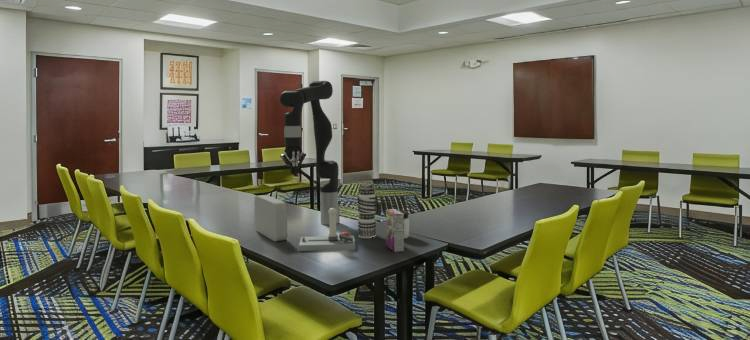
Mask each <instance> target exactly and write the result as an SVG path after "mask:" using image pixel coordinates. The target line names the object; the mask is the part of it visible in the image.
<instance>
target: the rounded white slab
mask: <svg viewBox="0 0 750 340" xmlns="http://www.w3.org/2000/svg"><path fill="white" fill-rule="evenodd" d="M254 222H255V229H256V231H257V232H258V233H259V234H261V235H263V236H264V237H267V238H269V240H271V241H273V242H275V243H276V242H282V241H287V239H288V207H287V203H286V202H285V201H283V200H280V199H278V198H275V197H273V196H270V195H268V194H261V195H255V196H254Z"/></svg>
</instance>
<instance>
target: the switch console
mask: <svg viewBox="0 0 750 340" xmlns="http://www.w3.org/2000/svg"><path fill="white" fill-rule="evenodd" d="M328 236H329V235H327V236H325V235H324V236H323V235H321V236H301V237H300V241H299V243H298V252H309V251H310V252H311V251H313V252H317V251H318V252H321V251H353V250H356V239H355V235H350V237H352V238H353V241H348V240H347V241H345V240H344V239H341V238H339V235H338V240H331V241H328Z"/></svg>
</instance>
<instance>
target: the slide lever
mask: <svg viewBox="0 0 750 340" xmlns="http://www.w3.org/2000/svg"><path fill="white" fill-rule="evenodd" d="M328 213H329V225H328V226H329V229H328V230H329V234H328V235H327V236H328V241H331V240H338V236H339V234H338V233H337V224H336V214H337V210H336V209H335V208H330V209H329V211H328Z"/></svg>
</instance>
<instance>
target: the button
mask: <svg viewBox="0 0 750 340" xmlns="http://www.w3.org/2000/svg"><path fill="white" fill-rule="evenodd" d="M350 233H351V232H350V231H341V234H342V235H346V236H349V237H350V236H351V235H350Z"/></svg>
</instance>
